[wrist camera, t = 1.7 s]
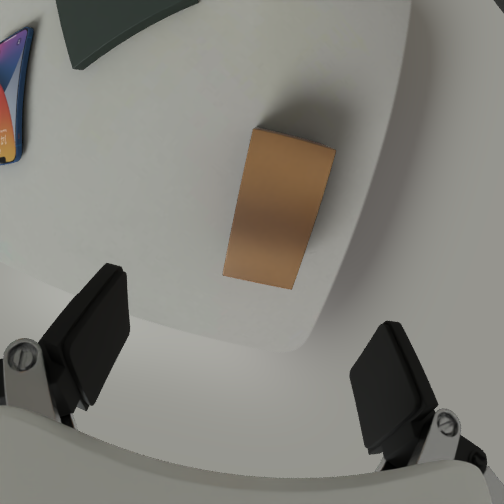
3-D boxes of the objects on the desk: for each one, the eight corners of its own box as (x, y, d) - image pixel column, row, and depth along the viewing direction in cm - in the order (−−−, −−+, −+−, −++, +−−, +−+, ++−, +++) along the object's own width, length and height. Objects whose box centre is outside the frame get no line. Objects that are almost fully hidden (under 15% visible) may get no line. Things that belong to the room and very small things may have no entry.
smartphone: (37, 25, 12) (30, 23, 11) (24, 160, 19) (17, 162, 18) (-1, 46, 12) (-7, 46, 11) (-9, 165, 19) (-15, 168, 18)
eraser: (255, 126, 18) (253, 128, 15) (323, 144, 18) (336, 150, 15) (229, 249, 23) (222, 275, 19) (288, 262, 23) (291, 290, 19)
